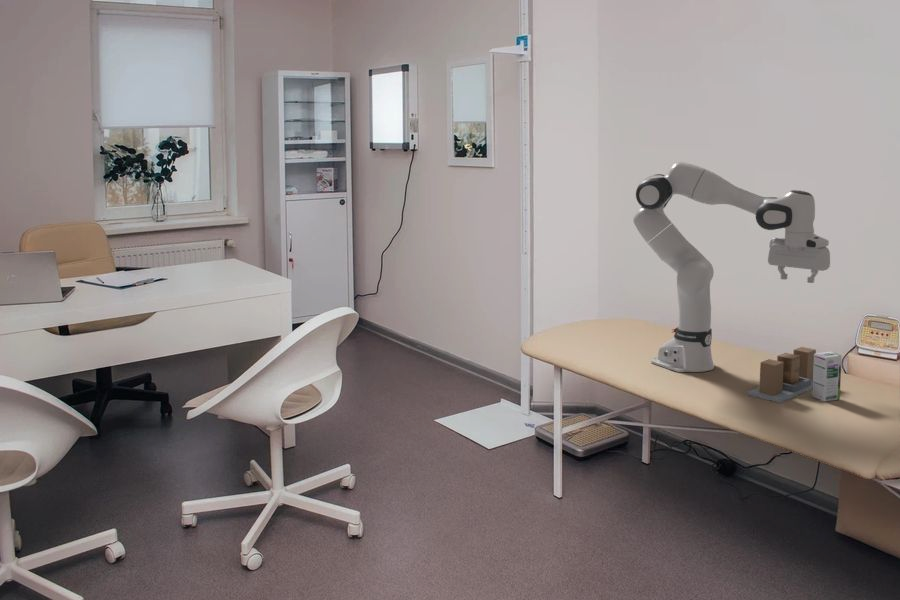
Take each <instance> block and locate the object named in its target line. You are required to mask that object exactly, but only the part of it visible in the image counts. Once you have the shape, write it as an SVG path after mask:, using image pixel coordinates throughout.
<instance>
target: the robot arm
mask: <svg viewBox="0 0 900 600" xmlns="http://www.w3.org/2000/svg"><path fill="white" fill-rule="evenodd" d="M673 195H680V196H684V197H686V198H688V199H691V200H693V201H694V202H695V201H696V202H699V203H700V204H706V205H709V206H712V205H713V206H715V205H730V206H733V207H735V208H739V209H741V210H744V211H746V212H749V213H750V214H753V215H755V221H756V222H757V225H758V226H759V227H760V228H762V229H764V230H766V231H776V230H781V229H784V238H782V237H781V238H778V237H773V238H772V239H771V240H770V241H769V251H768V256H767V263H768V264H769V265H770V266H775V267H777V270H778V272H779V274H780V280H788V273H786V272H785V270H784V269H786V268H793V269H803V270H810V273H811V275H810V276H808V277H807V281H806V282H807V283H809V284H813V283H815V278H816V276H817V275H818V273H819V271H823V272H824V271H827V270H829V269H830V267H831V252H830V250H829V248H828V246H829V243H830V242H829V241H830V240H828V239H827V238H824V237H821V236H820V235H817V234H815V227H814V222H815V218H816V203H815V197H814V196H813V194H812V193H810V192H807V191H804V190H795V189H793V190H790V191H788V192H787V193H785V194H783V195H782V196H779V197H774V196H772V197H771V196H769V197H768V196H767V197H765V196H761V195H758V194H756V193H753V192H751V191H748V190H745V189H743V188H740V187H738V186H736V185H734V184H732V183H731V182H730V181H728V180H726V179H725V178H723V177H722V176H720V175H718V174H716V173H715V172H713V171H711V170H709V169H706V168H704V167H701V166H698V165H696V164H693V163H687V162H683V161H682V162H681V161H679V162H676V163H674V164H673V165H672V166H671V167H669V170H668V172H667V173H666V174H662V173H661V174H657V173H656V174H653V175H650V176H648V177H646V178H644V180H643V181H641V182H639V184H638V186H637V188H636V191H635V199H636V201H637V203H638V204H639V205H640V206H641V207H640V208H639V209H637V211H636V212H635V214H634V216H633V223H634V226H635V228H636V229H637V231H638V232H639V234H640V235H641V237H642V238H643V240H644V241H645V242H646V243H647V244H648V246H649V247H650V248H651V249H652V250H653V252H654V253H655V254H656V255H657V256H658V257H659V259H660V260H661V261H663V262H664V263H665V264H666V265H667V266H669V267H670V268H671V269H672V270H673V271H674V272H675V273H676V274H677V275H676V289H677V293H676V294H677V302H678V303H677V304H678V325H677V327H676V328H673V329H672V330H671V331H672V332H671V333H672V334H674V335H673V337H671V338H670V339H669V340H667V341H666V342H664V343H663V344H661V345H660V347H659V348H658V352H657V356H655V357H653V358H651V361H650V362H651V364H654V365H656V366H659V367H662V368H664V369H669V370H670V371H674V372H677V373H687V372H689V373H703V372H708V371H709V372H710V371H712V370H713V369H715V364H714V361H713V354H712V337H713V333H712V328H711V325H712V321H711V320H712V317H711V316H712V304H711V303H712V302H711V281H712V279H713V277H714V275H715V274H714V273H715V272H714V271H715V270H714V268H713V265H712V263H711V262H710V261H709V260H708V259H707V258H706V257H705V256H704V254H702V253H701V252H700V251H699V250H698V249H697V248H696V247H695V246H694V245H693V244H691V243H690V242H689V240H687V239H686V238H685V236H684V235H683V234H682V233H681V232H680V231H679V229H678V228H677V227H676V225H674V223H672V221H671V220H670V219H669V218H668V217H667V216H668V215H666V214H665V211H664V209H665V208H666V207H667V205H668V203H669V202H670V201H671V199H672V198H673Z"/></svg>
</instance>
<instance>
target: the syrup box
mask: <svg viewBox="0 0 900 600" xmlns="http://www.w3.org/2000/svg"><path fill="white" fill-rule="evenodd" d="M842 358H843V356H842V355H841V354H840V353H836V352H833V351H826V352H818V353H817V352H816V353H815V354H814V371H813V389H812V397H813V398H815V399H817V400H819V399H820V400H819V401H821V400H822V402H824V403H826V402H831V401H838V400H840V399H841V380H842V379H841V378H842V376H841V375H842Z"/></svg>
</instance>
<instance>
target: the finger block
mask: <svg viewBox="0 0 900 600" xmlns="http://www.w3.org/2000/svg"><path fill="white" fill-rule="evenodd" d="M776 358H777V359H776V361H780V362H784V366H783V383H787V384H791V385H794V384H796V383H798V382H799V367H800V356H799V355H794V353H788V352H784V353H781V354H779V355H777V357H776Z"/></svg>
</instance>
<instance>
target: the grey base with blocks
mask: <svg viewBox="0 0 900 600" xmlns="http://www.w3.org/2000/svg"><path fill="white" fill-rule="evenodd" d="M815 353H817V349H815V348H811V347H810V348H809V347H804V346H800V347H798V348H795V349H793V354H794V355H799V356H800V367H799V382H798V383H796V384H794V385H791V384H787V383H783V366H784V362H780V361H777V359H770V358H768V359H766V360H764V361H761V362H760V365H759V366H760V367H759V368H760V369H759V370H760V371H759V386H758V387H755V388H752V389H750V390H749V391H748V392H747V395H748V396H750V395H751V397H754V396H755V397H756V398H758V397H760V398H759V399H762V398H764V399H763V400H766V399H768V401H770V400H772V401H771V402H774V401H776V402H775V403H778V402H780V403H779V404H781V403H784V402H785V401H788V400H789V399H792V398H794V397H796V395H797V396H799V395H801V394H803V392H804V393H806V392H808V391H811V390H813V389H812V388H813V371H814V354H815ZM807 390H808V391H807ZM805 391H806V392H805ZM798 394H799V395H798ZM787 399H788V400H787Z"/></svg>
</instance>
